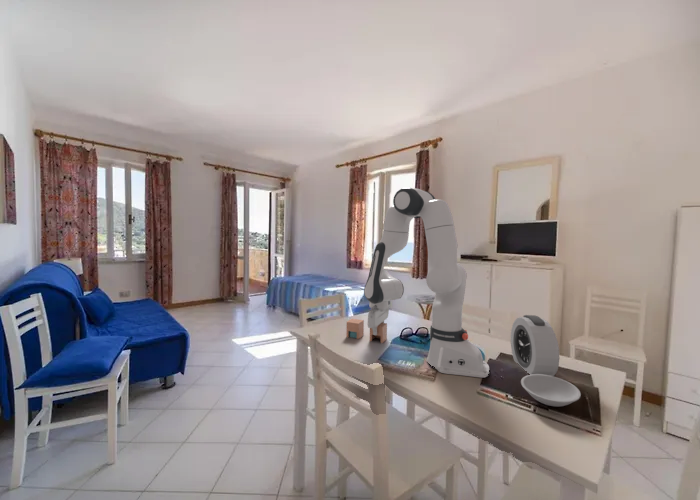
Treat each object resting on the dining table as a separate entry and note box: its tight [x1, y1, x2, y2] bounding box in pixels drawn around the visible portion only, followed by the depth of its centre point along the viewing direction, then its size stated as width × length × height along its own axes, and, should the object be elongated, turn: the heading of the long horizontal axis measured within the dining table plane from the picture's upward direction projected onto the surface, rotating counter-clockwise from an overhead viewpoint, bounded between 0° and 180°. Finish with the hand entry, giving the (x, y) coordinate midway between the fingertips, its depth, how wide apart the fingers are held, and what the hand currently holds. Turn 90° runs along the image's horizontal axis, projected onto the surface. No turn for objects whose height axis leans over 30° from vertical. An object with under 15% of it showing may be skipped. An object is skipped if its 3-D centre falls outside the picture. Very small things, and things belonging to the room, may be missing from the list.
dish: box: [520, 374, 582, 408], centre depth 86 cm, size 18×14×5 cm
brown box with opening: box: [369, 322, 388, 344], centre depth 137 cm, size 6×6×8 cm
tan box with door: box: [345, 318, 365, 340], centre depth 142 cm, size 6×6×8 cm
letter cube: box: [349, 331, 357, 339], centre depth 142 cm, size 4×4×4 cm
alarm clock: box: [510, 314, 560, 377], centre depth 109 cm, size 21×8×20 cm, turn 172°
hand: (378, 332), depth 137 cm, fingers closed on brown box with opening, 6 cm apart
